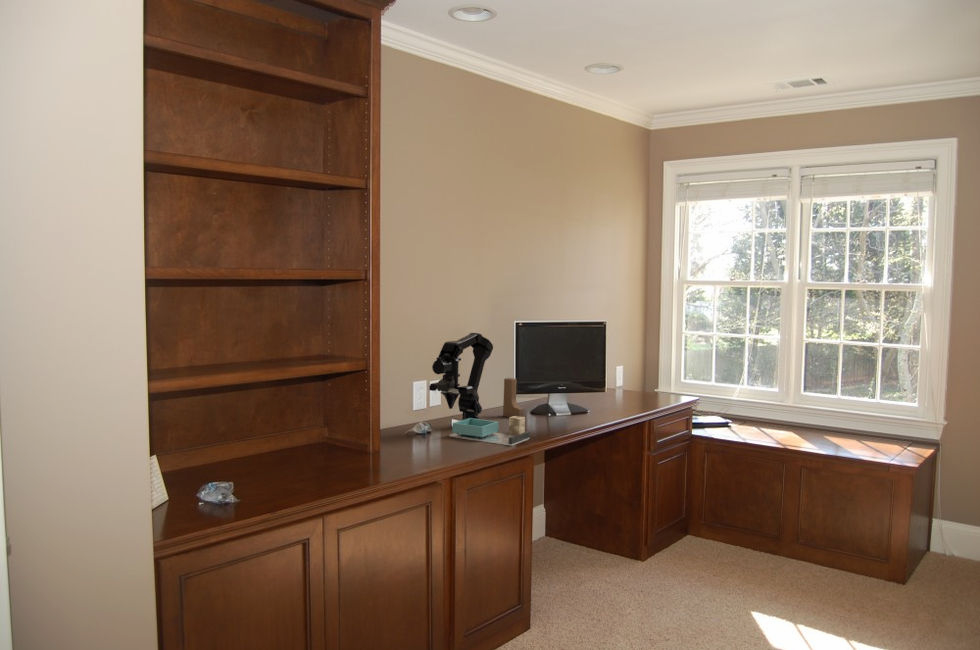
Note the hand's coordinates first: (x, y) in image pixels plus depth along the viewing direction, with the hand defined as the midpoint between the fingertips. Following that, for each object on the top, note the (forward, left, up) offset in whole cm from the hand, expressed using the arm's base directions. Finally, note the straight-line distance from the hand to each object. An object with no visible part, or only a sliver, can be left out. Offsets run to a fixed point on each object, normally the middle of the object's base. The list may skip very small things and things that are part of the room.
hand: (450, 408), depth 320 cm
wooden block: (+5, +48, -10) cm, 49 cm away
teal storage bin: (+12, 0, -10) cm, 16 cm away
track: (+19, 0, -10) cm, 21 cm away
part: (+24, +14, -10) cm, 30 cm away
